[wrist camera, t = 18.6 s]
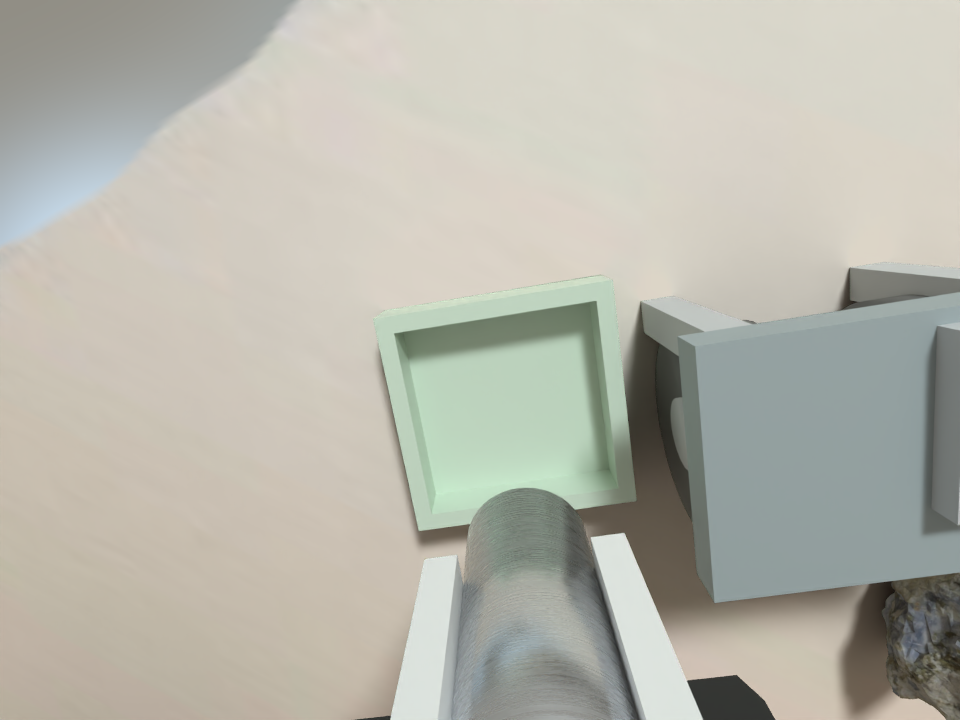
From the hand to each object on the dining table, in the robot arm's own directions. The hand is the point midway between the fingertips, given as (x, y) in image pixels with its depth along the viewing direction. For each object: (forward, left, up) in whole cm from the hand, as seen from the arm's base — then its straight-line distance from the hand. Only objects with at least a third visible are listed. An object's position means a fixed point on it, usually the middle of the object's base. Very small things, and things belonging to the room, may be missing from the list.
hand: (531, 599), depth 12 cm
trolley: (+13, -1, -16) cm, 20 cm away
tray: (0, 0, -16) cm, 16 cm away
